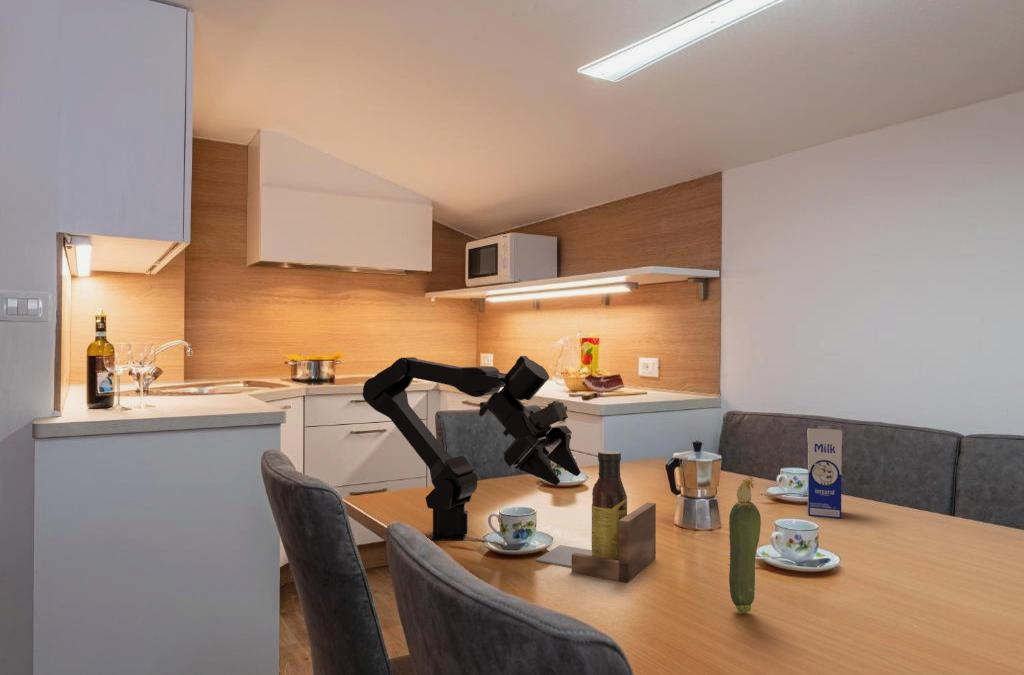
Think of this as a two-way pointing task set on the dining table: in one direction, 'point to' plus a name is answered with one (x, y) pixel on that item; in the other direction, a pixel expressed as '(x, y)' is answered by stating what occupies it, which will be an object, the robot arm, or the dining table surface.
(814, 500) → the milk carton
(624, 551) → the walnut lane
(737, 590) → the vegetable
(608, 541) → the sauce bottle
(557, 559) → the mat
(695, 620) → the dining table surface
